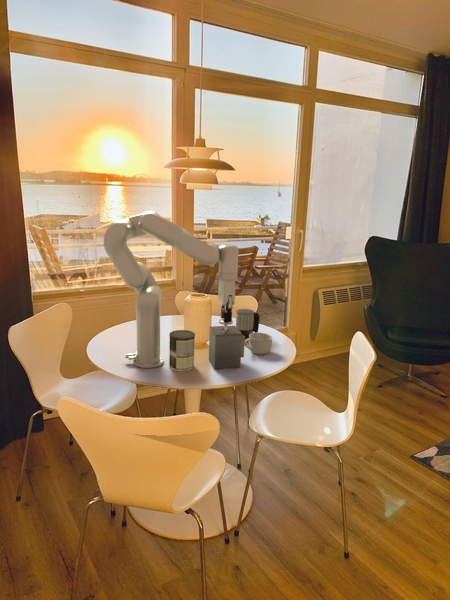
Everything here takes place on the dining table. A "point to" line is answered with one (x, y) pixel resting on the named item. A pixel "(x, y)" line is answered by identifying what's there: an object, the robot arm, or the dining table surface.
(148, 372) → the dining table surface
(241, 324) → the milk frother
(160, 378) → the dining table surface
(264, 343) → the teacup
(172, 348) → the coffee can
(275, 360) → the dining table surface
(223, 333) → the gray box
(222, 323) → the plunger
